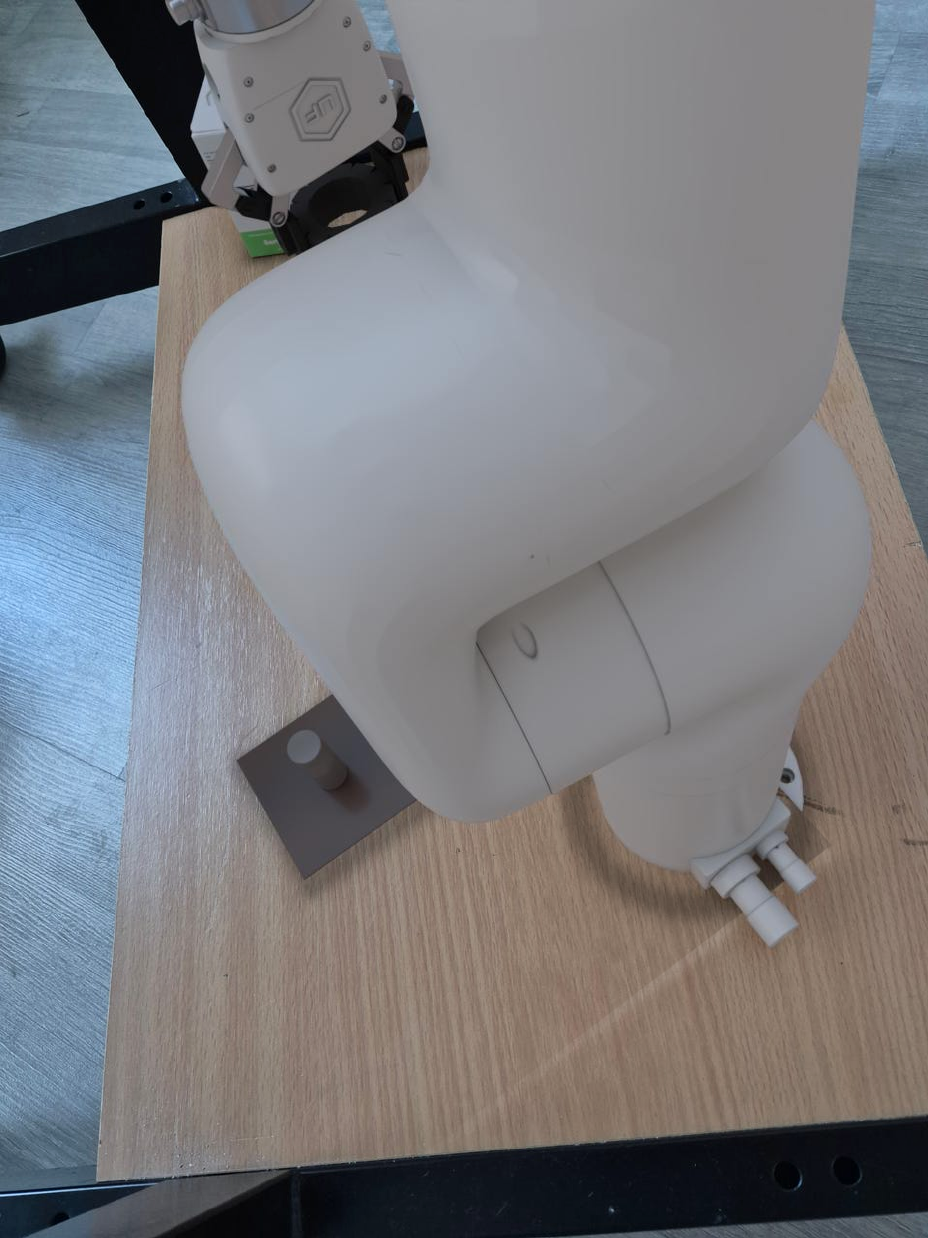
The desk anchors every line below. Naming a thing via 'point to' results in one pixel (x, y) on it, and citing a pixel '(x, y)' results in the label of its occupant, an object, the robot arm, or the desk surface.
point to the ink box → (208, 140)
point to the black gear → (341, 200)
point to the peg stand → (322, 785)
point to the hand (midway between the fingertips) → (348, 223)
